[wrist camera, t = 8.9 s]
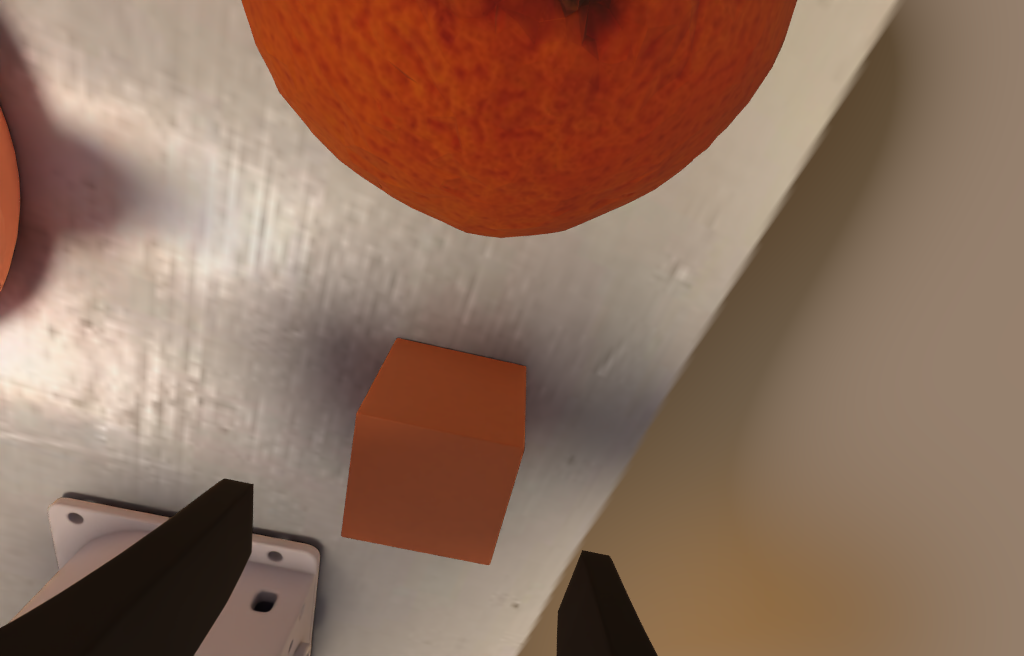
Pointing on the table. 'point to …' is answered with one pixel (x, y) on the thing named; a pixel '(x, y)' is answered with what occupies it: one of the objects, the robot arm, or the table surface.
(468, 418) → the block
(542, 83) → the fruit
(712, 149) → the table surface
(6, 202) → the teapot
